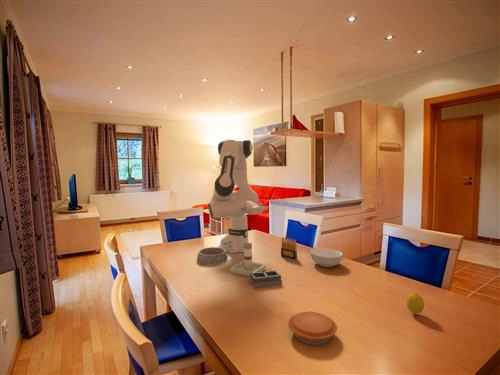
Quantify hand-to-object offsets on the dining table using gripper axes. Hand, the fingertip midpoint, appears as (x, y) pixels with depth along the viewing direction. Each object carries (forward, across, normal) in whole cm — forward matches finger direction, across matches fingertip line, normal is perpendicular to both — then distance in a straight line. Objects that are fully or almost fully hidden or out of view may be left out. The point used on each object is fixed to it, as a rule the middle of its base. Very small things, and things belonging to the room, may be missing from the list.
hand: (264, 206), depth 151 cm
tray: (-11, -6, +33) cm, 35 cm away
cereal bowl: (+33, -8, +34) cm, 47 cm away
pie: (-4, -64, +32) cm, 72 cm away
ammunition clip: (+18, +10, +34) cm, 39 cm away
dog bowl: (-27, +20, +34) cm, 48 cm away
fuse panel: (-7, -21, +32) cm, 39 cm away
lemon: (+38, -63, +32) cm, 80 cm away
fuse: (-11, -6, +32) cm, 34 cm away
